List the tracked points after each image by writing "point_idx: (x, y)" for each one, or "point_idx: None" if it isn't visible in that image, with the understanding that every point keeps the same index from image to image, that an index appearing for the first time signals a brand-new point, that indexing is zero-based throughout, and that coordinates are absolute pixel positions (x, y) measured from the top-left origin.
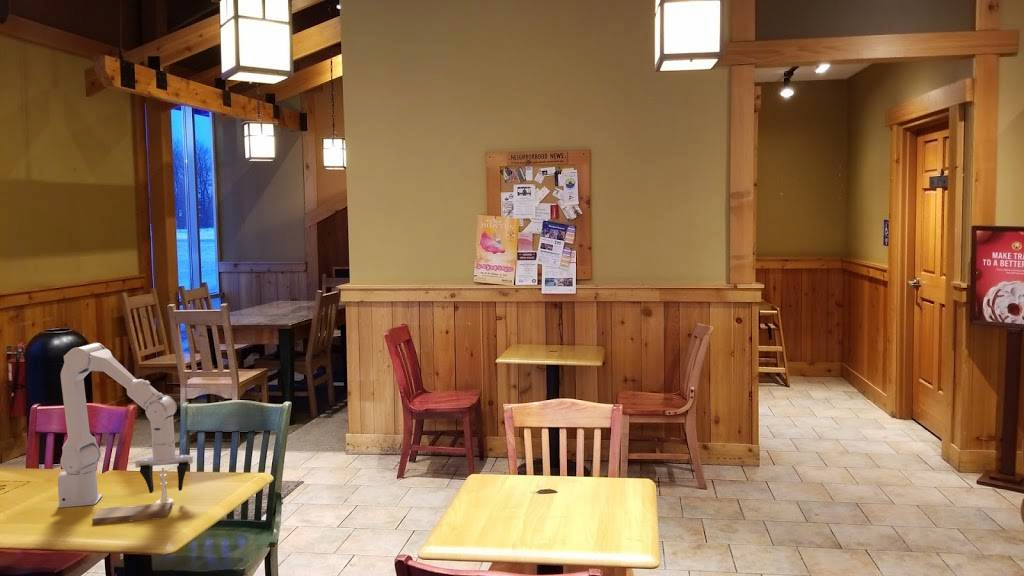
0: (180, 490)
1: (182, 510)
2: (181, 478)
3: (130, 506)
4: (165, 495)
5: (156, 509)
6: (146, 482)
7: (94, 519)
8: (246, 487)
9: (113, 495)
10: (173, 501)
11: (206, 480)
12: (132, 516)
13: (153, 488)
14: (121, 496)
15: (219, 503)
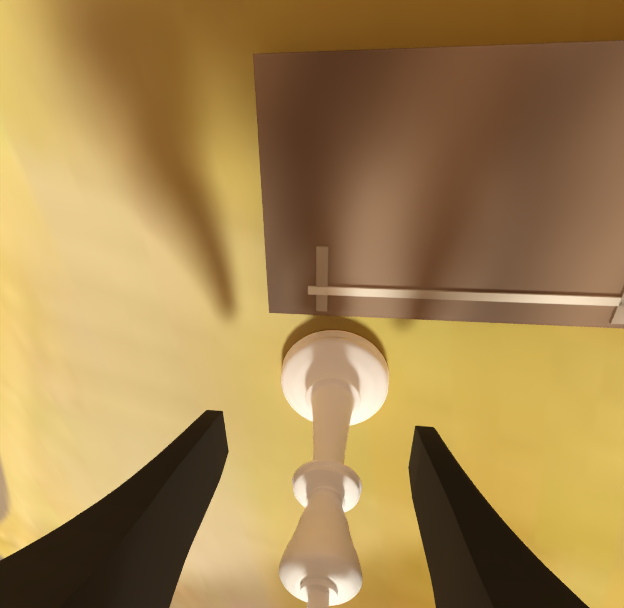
0: (209, 410)
1: (197, 223)
2: (133, 485)
3: (568, 302)
4: (321, 402)
5: (356, 167)
6: (493, 510)
7: None
8: (5, 470)
9: (607, 567)
10: (281, 374)
11: (211, 585)
12: (565, 48)
13: (411, 482)
14: (569, 545)
15: (18, 290)
